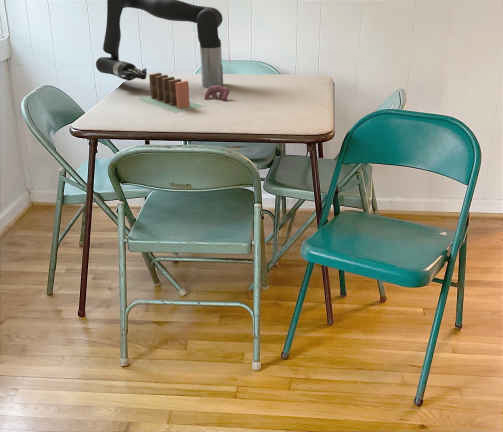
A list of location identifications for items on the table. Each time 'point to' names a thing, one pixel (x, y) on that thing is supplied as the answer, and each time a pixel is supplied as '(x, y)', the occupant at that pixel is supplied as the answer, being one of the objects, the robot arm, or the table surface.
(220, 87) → the video game controller
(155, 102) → the felt mat
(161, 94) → the domino
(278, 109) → the table surface
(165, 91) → the domino
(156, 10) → the robot arm
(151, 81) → the domino
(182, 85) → the domino
